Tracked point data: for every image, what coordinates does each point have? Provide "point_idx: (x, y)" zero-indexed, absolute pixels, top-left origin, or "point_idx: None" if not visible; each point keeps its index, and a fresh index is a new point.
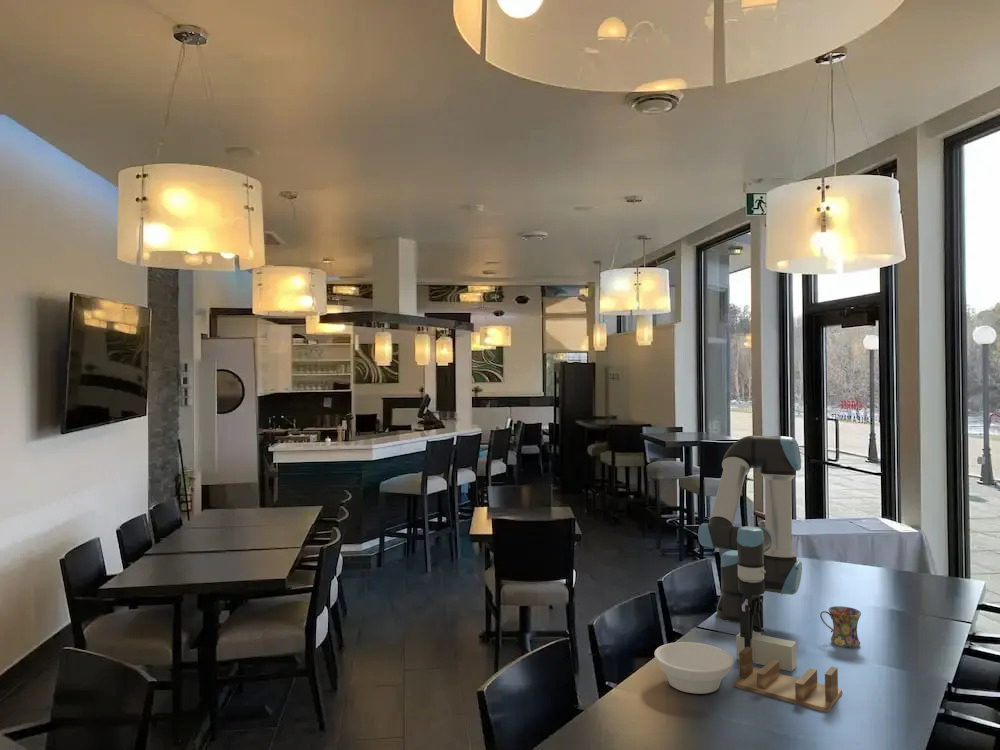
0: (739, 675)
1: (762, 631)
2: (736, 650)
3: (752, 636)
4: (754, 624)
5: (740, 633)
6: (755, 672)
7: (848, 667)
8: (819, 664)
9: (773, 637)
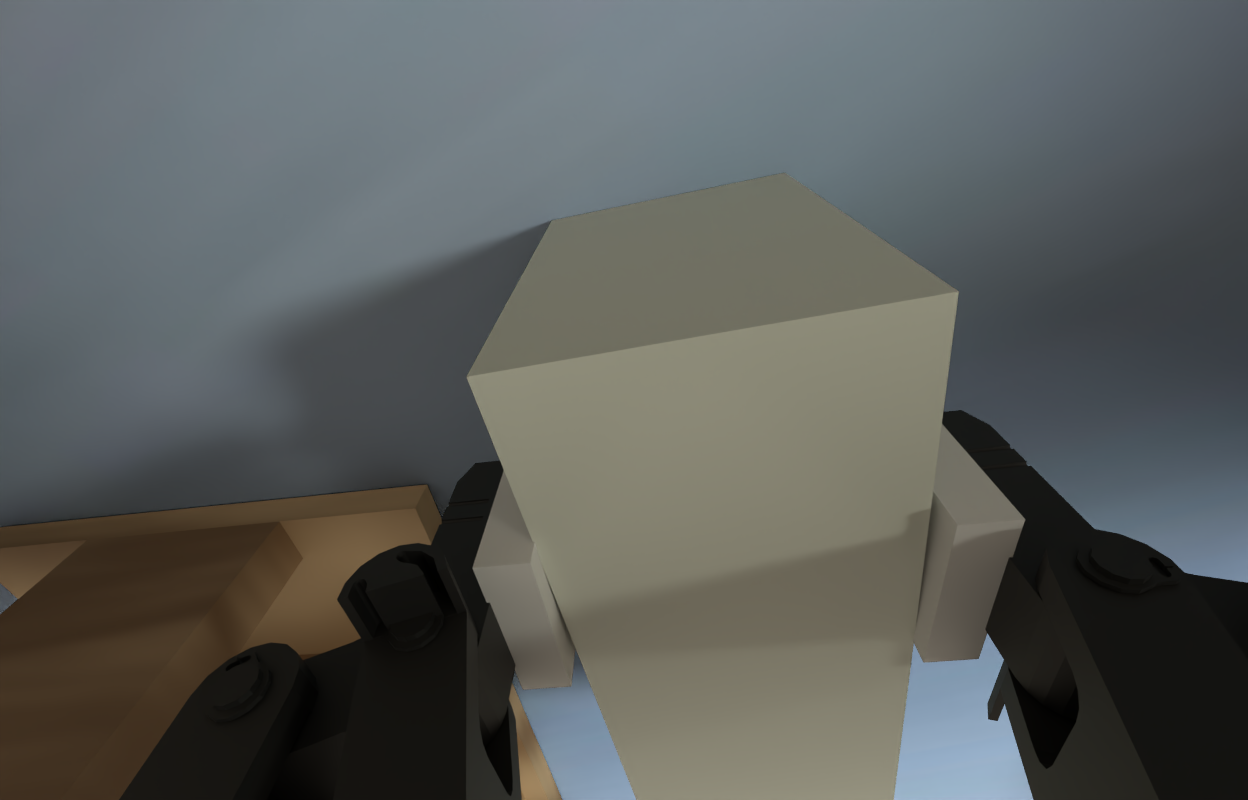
0: (66, 558)
1: (991, 717)
2: (535, 253)
3: (711, 605)
4: (1097, 789)
5: (154, 753)
6: (326, 570)
7: (977, 789)
8: (935, 707)
9: (894, 771)
